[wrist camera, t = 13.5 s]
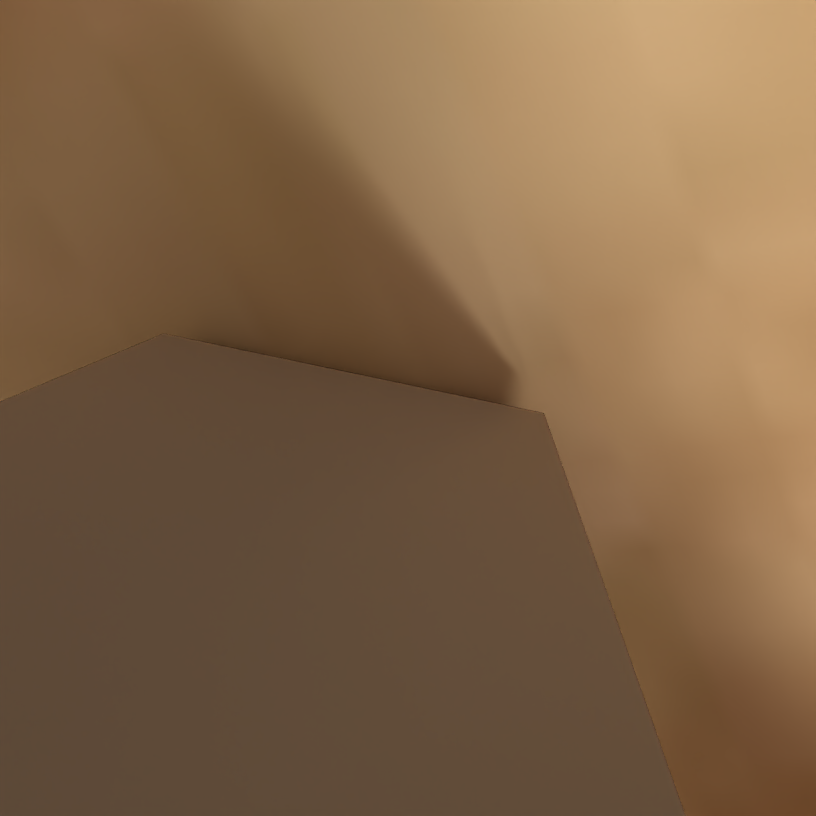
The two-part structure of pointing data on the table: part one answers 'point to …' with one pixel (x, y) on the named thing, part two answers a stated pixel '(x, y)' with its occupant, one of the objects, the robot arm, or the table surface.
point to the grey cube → (301, 602)
